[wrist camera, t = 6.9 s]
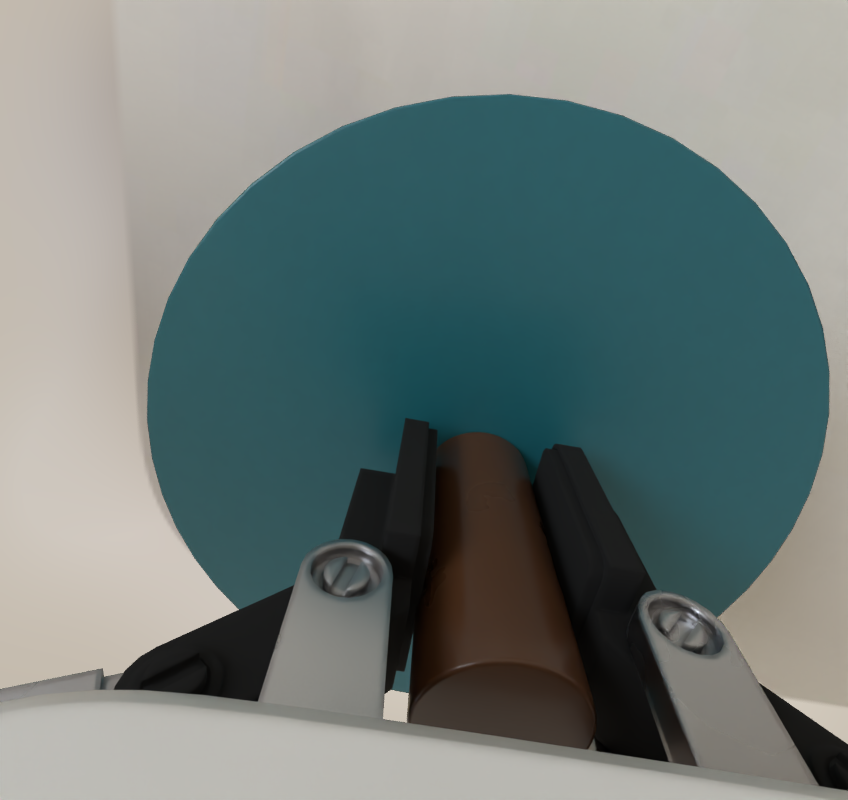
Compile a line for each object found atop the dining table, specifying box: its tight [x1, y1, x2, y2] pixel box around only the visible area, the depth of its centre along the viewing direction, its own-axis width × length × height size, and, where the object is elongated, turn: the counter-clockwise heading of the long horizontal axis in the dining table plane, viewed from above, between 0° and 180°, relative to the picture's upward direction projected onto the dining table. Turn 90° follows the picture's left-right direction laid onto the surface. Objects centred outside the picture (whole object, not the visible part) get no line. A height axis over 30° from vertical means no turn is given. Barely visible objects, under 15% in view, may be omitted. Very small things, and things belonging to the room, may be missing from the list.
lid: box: [147, 94, 829, 750], centre depth 10 cm, size 16×16×7 cm
